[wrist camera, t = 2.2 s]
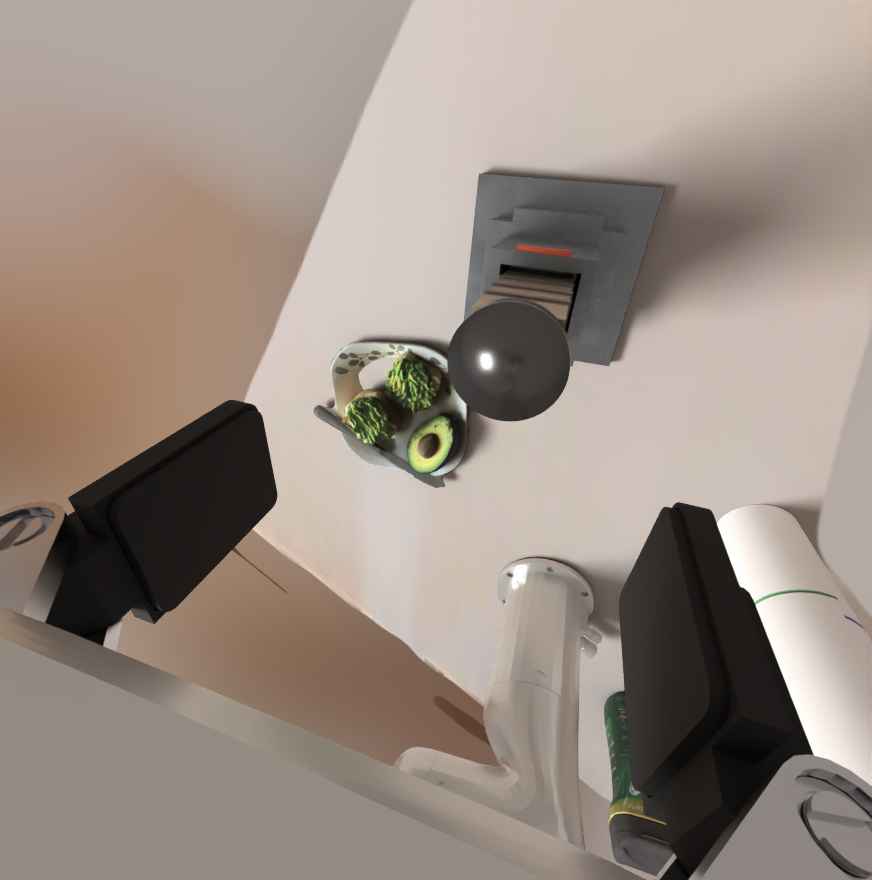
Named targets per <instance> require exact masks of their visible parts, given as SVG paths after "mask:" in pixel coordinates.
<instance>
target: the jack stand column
mask: <svg viewBox="0 0 872 880" xmlns="http://www.w3.org/2000/svg"><path fill="white" fill-rule="evenodd" d="M575 275H576V273H571V272H563V271H555V270H547V269H539V268H531V267H523V266H515V265H510V268H509V269H508V270H507V271H506V272H505V273H504V274H503V275H499V276H498V280H497V281H492V282H491V287H490V288H489V289H484V290H483V295H482V296H481V297H480V298H479V299H478V300H477V301H476V303H475V304H474V305H473V306H472V311H471V315H470V316H469V317H468V318H467V319H466V320H465V321H464V322H463V323H462V324H461V325H460V327H459V328H458V329H457V331H456V332H455V334H454V336H453V338H452V340H451V342H450V346H449V349H448V356H447V366H448V373H449V377H450V380H451V383H452V385H453V387H454V389H455V391H456V392H457V394H458V395H459V397H460V398H461V399H462V400H463V401H464V402H465V403H466V404H467V405H468V406H469V407H470V408H472V409H473V410H474V411H476V412H478V413H480V414H481V415H483V416H486V417H488V418H492V419H495V420H501V421H520V420H525V419H529V418H532V417H534V416H536V415H538V414H541V413H542V412H544V411H545V410H547V409H548V408H549V407H550V406H552V405H553V404H554V403H555V401H556V400H557V399H558V398H559V396H560V395H561V394H562V392H563V390H564V388H565V386H566V383H567V380H568V376H569V371H570V362H571V348H570V343H569V339H568V336H567V333H566V331H565V328H566V324H567V319H568V315H569V311H570V307H571V303H572V301H571V299H572V295H573V288H574V279H575Z"/></svg>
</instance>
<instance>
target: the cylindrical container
mask: <svg viewBox="0 0 872 880" xmlns="http://www.w3.org/2000/svg"><path fill="white" fill-rule="evenodd" d="M717 526H718V528H719V531H720V534H721V537H722V539H723V542H724V545H725V547H726V550H727V553H728V556H729V558H730V561H731V564H732V566H733V569H734V572H735V575H736V577H737V580H738V583H739V585H740V587H743V588H745V589H746V590H747V591H748V592H749V593H750V595H751V597H752V598H753V600H754V603H755V605H756V608H757V610H758V613H759V615H760V618H761V621H762V623H763V626H764V628H765V631H766V633H767V636H768V639H769V641H770V644H771V646H772V649H773V651H774V654H775V657H776V659H777V662H778V664H779V667H780V669H781V672H782V675H783V677H784V680H785V682H786V685H787V687H788V690H789V692H790V695H791V698H792V700H793V703H794V705H795V708H796V710H797V713H798V716H799V718H800V721H801V723H802V726H803V728H804V731H805V734H806V736H807V739H808V741H809V744H810V746H811V749H812V752H813V754H814V756H818V757H822V758H826V759H829V760H831V761H833V762H835V763H837V764H839V765H841V766H843V767H845V768H847V769H849V770H851V771H852V772H853V773H855V774H856V775H857V776H859V777H860V778H861V779H863V780H864V781H865V782H867V783H868V784H870V785H871V786H872V640H871V639H870V637H869V636H868V634H867V633H866V631H865V629H864V628H863V626H862V624H861V623H860V621H859V620H858V618H857V616H856V615H855V613H854V612H853V610H852V608H851V607H850V605H849V604H848V602H847V600H846V599H845V597H844V596H843V594H842V592H841V591H840V589H839V588H838V586H837V584H836V583H835V581H834V580H833V578H832V576H831V575H830V573H829V572H828V570H827V568H826V567H825V565H824V564H823V562H822V560H821V559H820V557H819V555H818V554H817V552H816V551H815V549H814V547H813V546H812V544H811V542H810V541H809V539H808V538H807V536H806V534H805V533H804V531H803V530H802V528H801V526H800V525H799V523H798V521H797V520H796V519H795V517H794V516H793V515H792V514H790V513H789V512H787V511H786V510H784V509H782V508H779V507H776V506H771V505H760V504H757V505H748V506H743V507H740V508H737V509H734V510H732V511H730V512H729V513H727V514H726V515H724V516H723V517H722V518H721V519H720V520H719V522H718V523H717Z"/></svg>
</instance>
